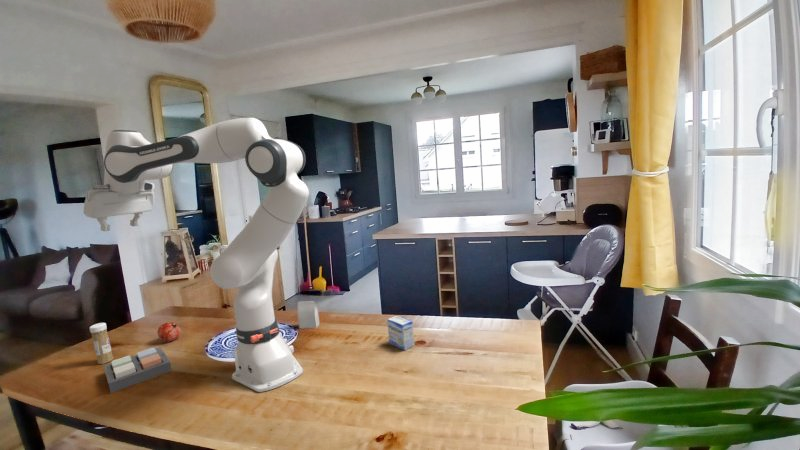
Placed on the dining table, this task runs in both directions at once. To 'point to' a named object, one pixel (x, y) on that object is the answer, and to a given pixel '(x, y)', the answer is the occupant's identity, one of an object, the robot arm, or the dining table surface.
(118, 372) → the key offwhite
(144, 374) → the keypad
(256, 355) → the robot arm
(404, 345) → the medicine box
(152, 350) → the key bluegrey
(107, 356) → the sprinkles bottle
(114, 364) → the key sage
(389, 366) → the dining table surface
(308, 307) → the light grey tapered block
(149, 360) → the key terracotta
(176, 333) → the pomegranate
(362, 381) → the dining table surface
